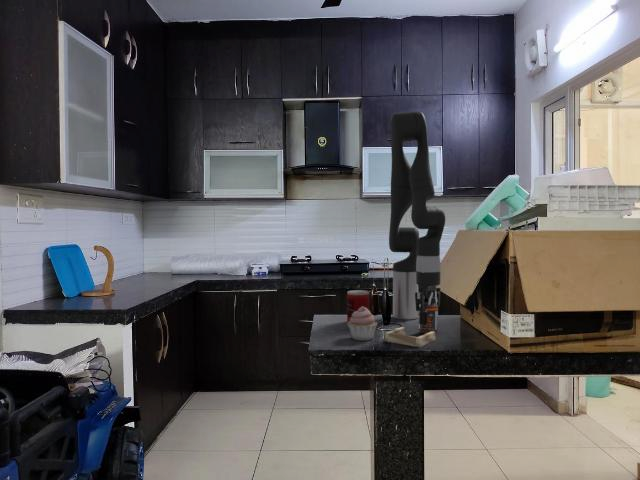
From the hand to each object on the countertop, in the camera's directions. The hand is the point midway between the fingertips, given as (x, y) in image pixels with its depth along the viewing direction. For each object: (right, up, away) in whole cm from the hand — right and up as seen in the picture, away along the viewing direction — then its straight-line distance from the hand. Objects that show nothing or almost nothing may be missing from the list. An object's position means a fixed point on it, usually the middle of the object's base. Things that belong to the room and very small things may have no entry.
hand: (428, 322), depth 160 cm
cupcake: (-21, -4, -6) cm, 23 cm away
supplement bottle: (0, -3, 0) cm, 3 cm away
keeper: (-7, -4, -9) cm, 12 cm away
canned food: (-21, -3, +17) cm, 27 cm away
